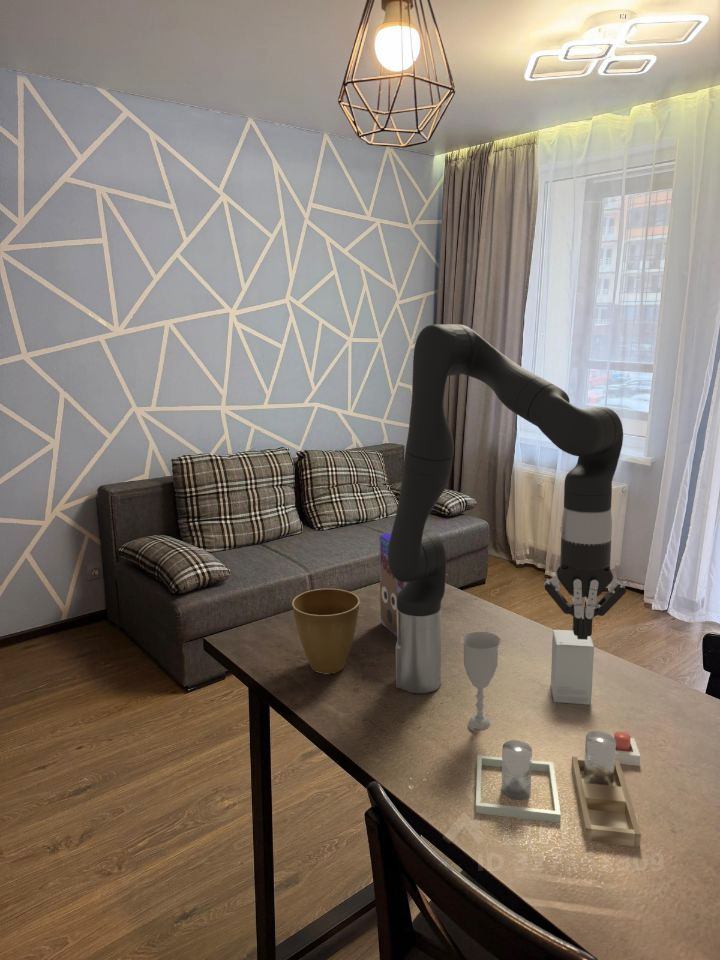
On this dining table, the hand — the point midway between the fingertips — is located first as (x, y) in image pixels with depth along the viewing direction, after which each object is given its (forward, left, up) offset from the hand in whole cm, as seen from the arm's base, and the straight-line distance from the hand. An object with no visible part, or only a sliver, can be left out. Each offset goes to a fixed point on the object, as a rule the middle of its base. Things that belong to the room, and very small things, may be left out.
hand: (582, 637), depth 106 cm
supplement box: (+2, +24, -24) cm, 34 cm away
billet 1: (-10, -9, -23) cm, 27 cm away
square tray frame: (-10, -9, -24) cm, 28 cm away
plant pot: (-50, +28, -24) cm, 62 cm away
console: (+8, +3, -24) cm, 25 cm away
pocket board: (+3, -10, -24) cm, 26 cm away
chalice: (-16, +9, -24) cm, 30 cm away
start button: (+8, +3, -21) cm, 23 cm away
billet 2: (+3, -6, -23) cm, 23 cm away
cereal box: (-35, +47, -24) cm, 63 cm away
